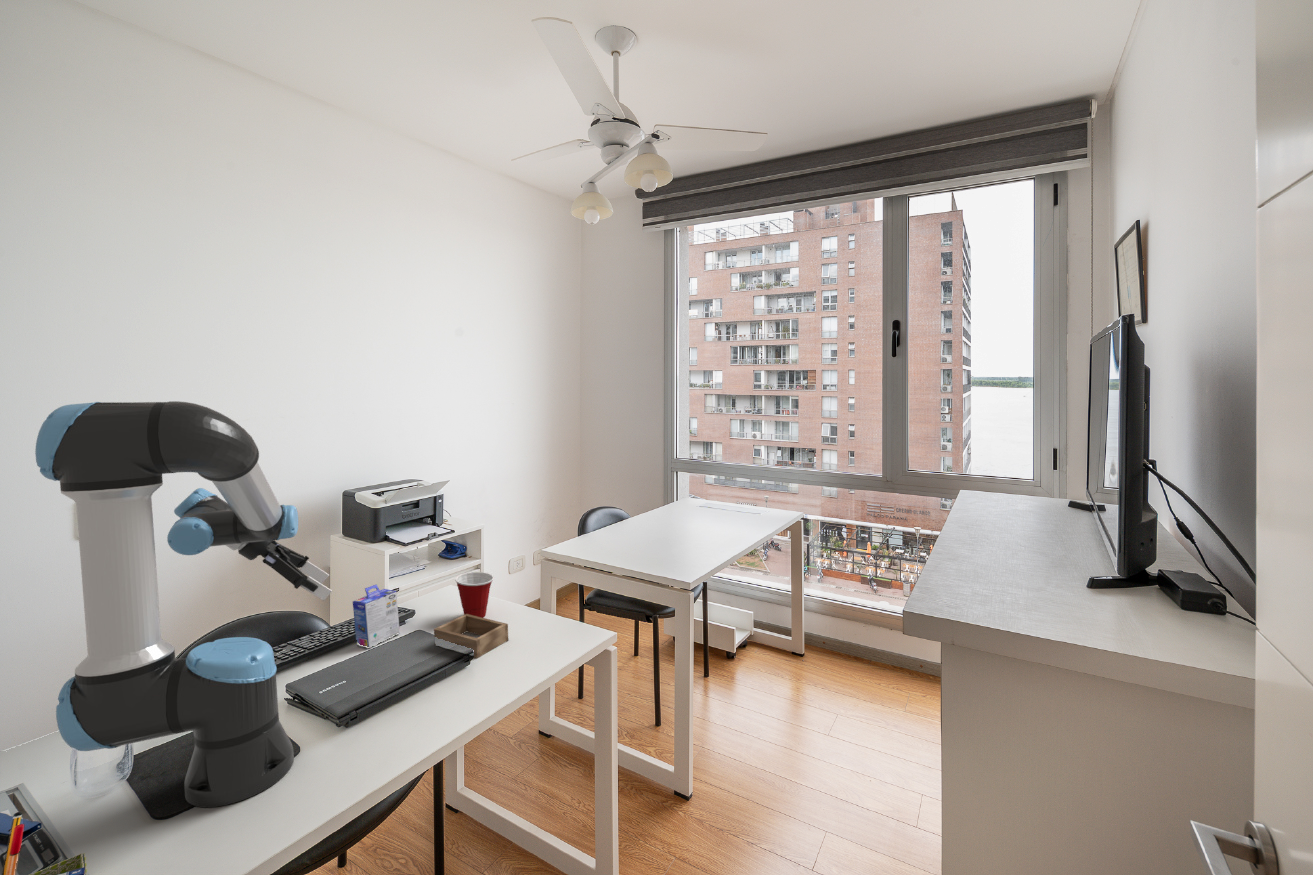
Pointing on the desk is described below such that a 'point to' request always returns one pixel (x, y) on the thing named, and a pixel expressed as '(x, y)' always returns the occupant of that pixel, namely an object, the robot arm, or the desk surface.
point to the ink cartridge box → (376, 616)
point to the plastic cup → (474, 592)
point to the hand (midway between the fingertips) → (326, 587)
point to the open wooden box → (488, 629)
